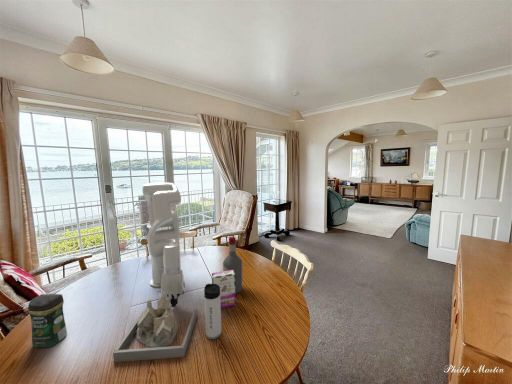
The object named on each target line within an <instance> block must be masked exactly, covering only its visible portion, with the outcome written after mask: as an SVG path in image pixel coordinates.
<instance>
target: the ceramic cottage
mask: <svg viewBox="0 0 512 384" xmlns="http://www.w3.org/2000/svg"><path fill="white" fill-rule="evenodd" d="M156 303H157V305H156V306H157V308H155V307H154V306H153V307H152V299H147V300H146V308H145V309H144V312H143V311H142V312H143V313H142V312H141V313H142V315H141V316H140V315H139V316H140V317H139V316H138V317H139V318H138V317H137V319H138V328H137V331H136V334H135V339H136V341H138V342H140V343H141V344H144V345H145V346H147V347H148V348H155V347H167V346H169V345H171V344H172V343H173V342H174V340H175V338H176V335H177V333H178V329H179V328H178V323H176V318H175V317H174V313H173V311H172V310H171V309H172V306H171V303H170V298H169V297H167V295H166V294H165V292H163V295H161V296H160V299H157V301H156Z"/></svg>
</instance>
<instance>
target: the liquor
mask: <svg viewBox="0 0 512 384" xmlns="http://www.w3.org/2000/svg"><path fill="white" fill-rule="evenodd" d="M236 243H237V241H236V237H235V236H229V237H228V247H229V248H228V250H229V251H228V255H227V256H226V257H225V258H224V259H223V262H222V268H223V269H222V272H223V271H230V270H234V273H235V289H236V294H239V293H240V292H242V291H243V285H244V284H243V283H244V281H243V260H242V258H241V257H240V256H239V255H238V254H237V252H236V248H237V247H236ZM238 292H239V293H238Z"/></svg>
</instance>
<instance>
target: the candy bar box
mask: <svg viewBox="0 0 512 384" xmlns="http://www.w3.org/2000/svg"><path fill="white" fill-rule="evenodd" d="M211 281H212V282H211V284H217V285H219V287H220V302H221V309H225V308H231V307H235V306H237V296H236V295H237V293H236V289H235V273H234V270H230V271H223V270H222V271H219V272H218V271H217V272H211Z"/></svg>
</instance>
